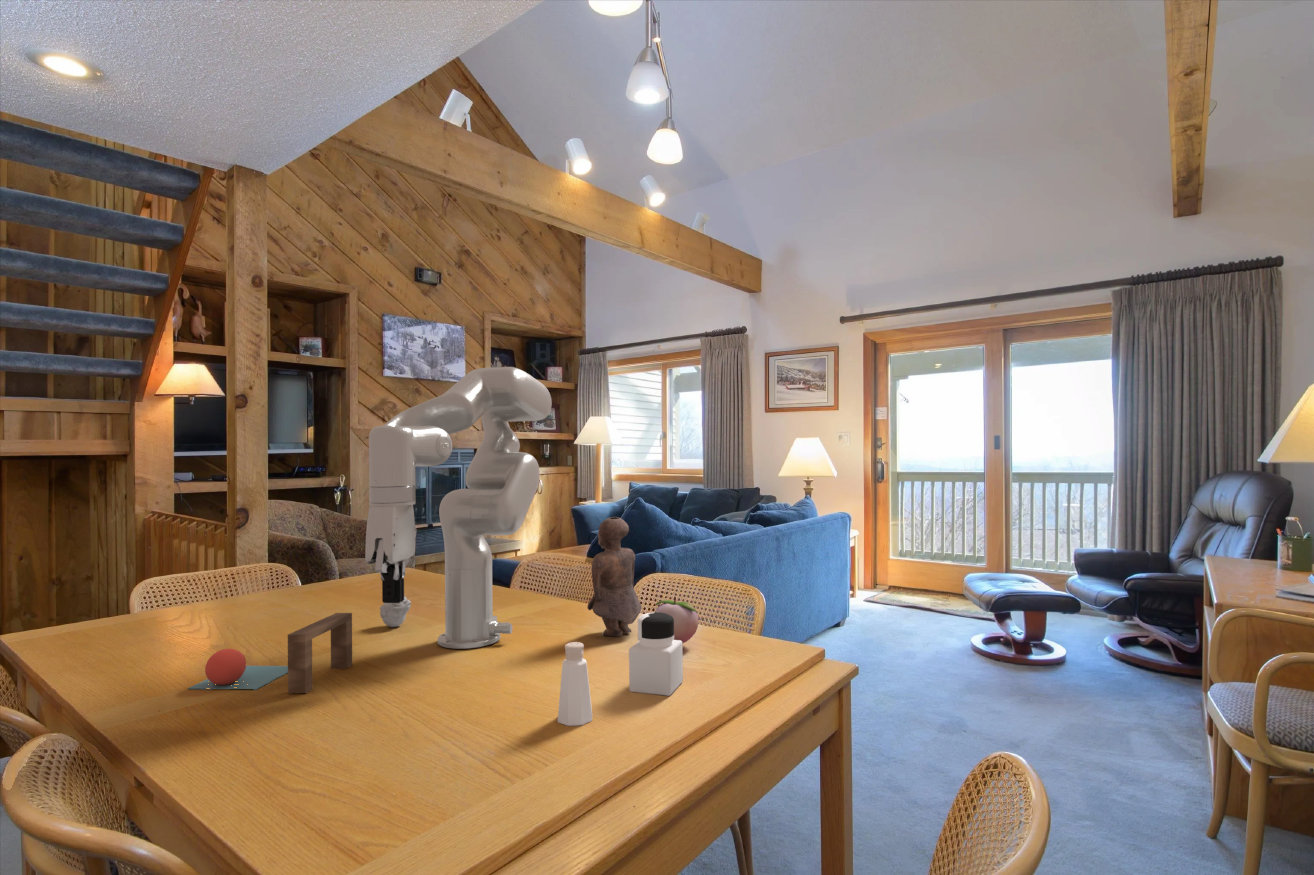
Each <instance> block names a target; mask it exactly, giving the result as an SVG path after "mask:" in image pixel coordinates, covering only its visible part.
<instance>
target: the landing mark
mask: <svg viewBox="0 0 1314 875" xmlns="http://www.w3.org/2000/svg"><path fill="white" fill-rule="evenodd" d="M286 673H287V674H288V665H246V669H245V671H244V673H243V675H242V676H241V677H240V678H239V679H238V680H237V681H238V682H233V683H231V684H228V685H217V684H216V685H215V684H214V683H212V682H211V681H210V680H209V679H208V678H206V679H204V680H203V681H200V682H198V683H196V684H194V685H191V686H190V687H188V688H187V689H188V690H207V689H206V688H210V689H209V690H212V689H253V690H252V691H257V690H259V689H261V688H262V687H264V685H265V686H267V685H269V684H271V683H272V682H274V681H276V680H277V679H276V678H278V679H279V677H280V678H282V677H283V676H285V675H287V674H286ZM282 675H283V676H282ZM275 679H276V680H275ZM273 680H274V681H273ZM208 681H209V682H208ZM243 681H244V682H243ZM271 681H272V682H271ZM208 684H209V685H208ZM234 684H239V685H234ZM247 684H248V685H247ZM266 684H267V685H266ZM231 685H232V686H231ZM234 687H237V688H234ZM260 687H261V688H260ZM258 688H259V689H258Z"/></svg>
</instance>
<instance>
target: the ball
mask: <svg viewBox="0 0 1314 875" xmlns="http://www.w3.org/2000/svg"><path fill="white" fill-rule="evenodd" d="M246 666H247V660H246V657H245V655H244V654H243V653H242V652H241V651H239V650H238V649H235V648H223V649H219V650H217V651H216V652H214V653H213V654H212V655H211V656H210V657H209V658H208V660H207V661H206V664H205V666H204V670H205V673H204V674H205V676H206V679H209V680H210V681H211V682H212V683H214V684H217V685H228V684H231V683H233V682H235V681H237V680H238V679H239V678H240V677H241V676H242V675H243V673H244V671H245V669H246Z"/></svg>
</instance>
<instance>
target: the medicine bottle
mask: <svg viewBox="0 0 1314 875" xmlns="http://www.w3.org/2000/svg"><path fill="white" fill-rule="evenodd" d="M637 640H638V641H637V642H636V643H635V644H633V645H632V646H631V647H629V649H628V670H629V671H628V673H629V674H628V675H629V676H628V677H629V678H628V679H629V680H628V682H629V683H628V684H629V685H628V686H629V687H628V688H629V692H632V693H638V694H639V693H640V694H649V695H656V696H657V695H658V696H668V697H670V696H671V695H673V693H675V691H676V690H677V689H678V687H680V685H681V684H682V683H683V681H684V676H683V674H684V672H683V668H684V665H683V662H684V661H683V660H684V659H683V644H682V641H681V640H674V618H673V617H672V616H671V615H669V614H666V613H660V612H655V611H654V612H647V613H643V614H641V615H640V616H638V617H637Z"/></svg>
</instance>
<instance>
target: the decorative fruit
mask: <svg viewBox="0 0 1314 875" xmlns="http://www.w3.org/2000/svg"><path fill="white" fill-rule="evenodd" d="M676 597H677V596H674V597H673V600H671V599H662V600H659V601H658V602H656V603H655V606H657V608H656V609H655V611H654V612H660V613H666V614H669V615H671V616H672V617H673V618H674V640H681V641H682V645H683V644H684V643H687V642H688V641H689V640H690V639H691V638H692V637H693V636H694V635H695V634H696V633H697V630H698V628H699V627H698V626H699V616H698V613H697V610H696V608H695V607H694V606H693V605H692V604H691V603H688V602H687V601H686V602H685V601H679V602H676V601H677V600H676ZM658 605H659V606H658Z"/></svg>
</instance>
